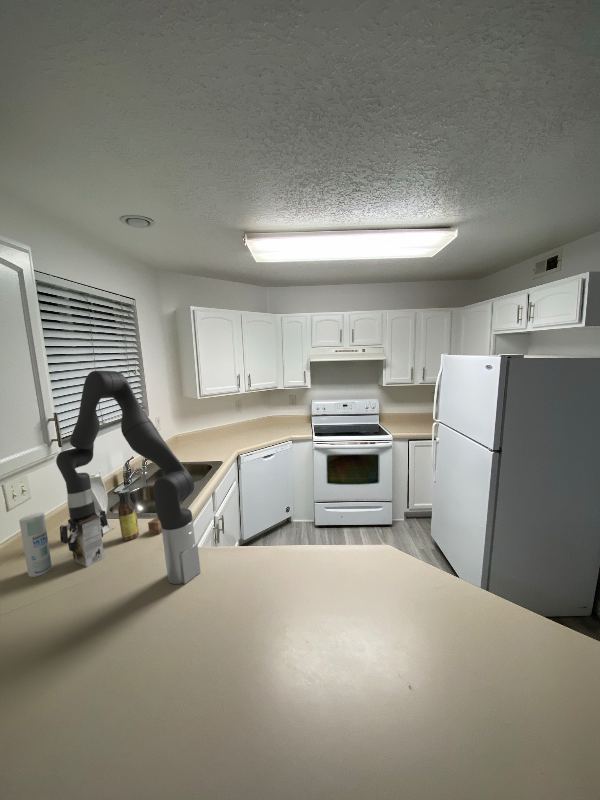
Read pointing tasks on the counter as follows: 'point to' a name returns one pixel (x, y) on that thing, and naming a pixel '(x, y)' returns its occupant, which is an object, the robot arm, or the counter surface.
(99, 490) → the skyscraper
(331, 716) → the counter surface
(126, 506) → the sauce bottle
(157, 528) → the walnut block
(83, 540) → the coffee box
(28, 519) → the spray can
